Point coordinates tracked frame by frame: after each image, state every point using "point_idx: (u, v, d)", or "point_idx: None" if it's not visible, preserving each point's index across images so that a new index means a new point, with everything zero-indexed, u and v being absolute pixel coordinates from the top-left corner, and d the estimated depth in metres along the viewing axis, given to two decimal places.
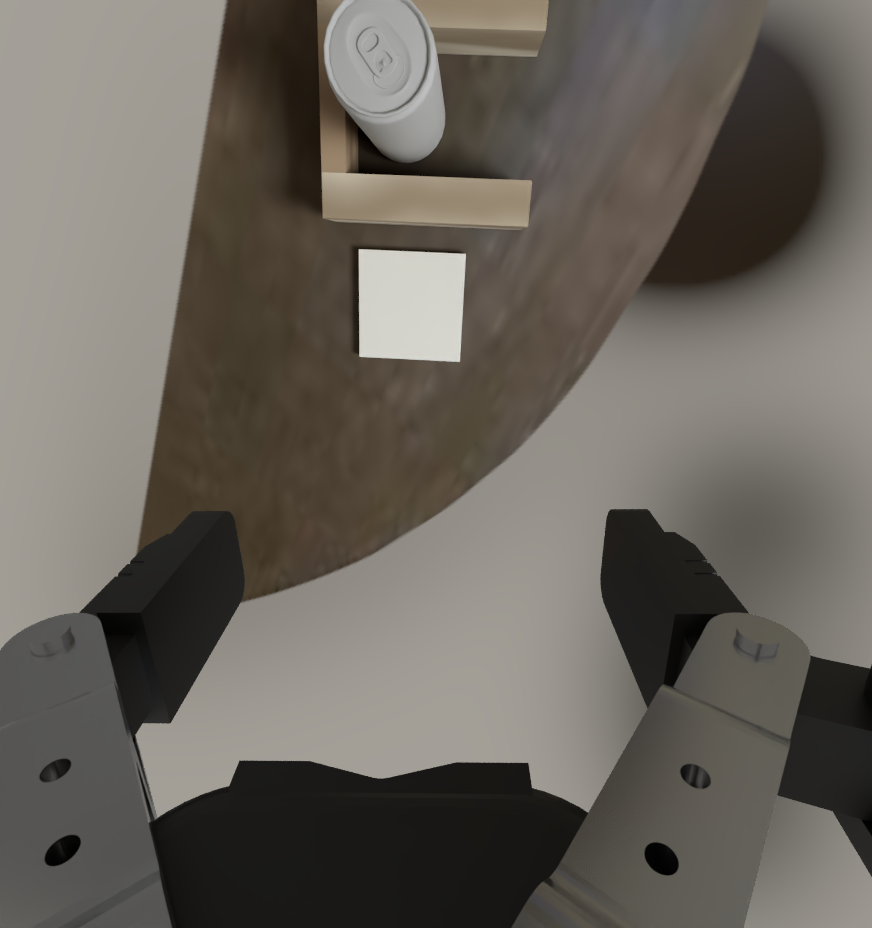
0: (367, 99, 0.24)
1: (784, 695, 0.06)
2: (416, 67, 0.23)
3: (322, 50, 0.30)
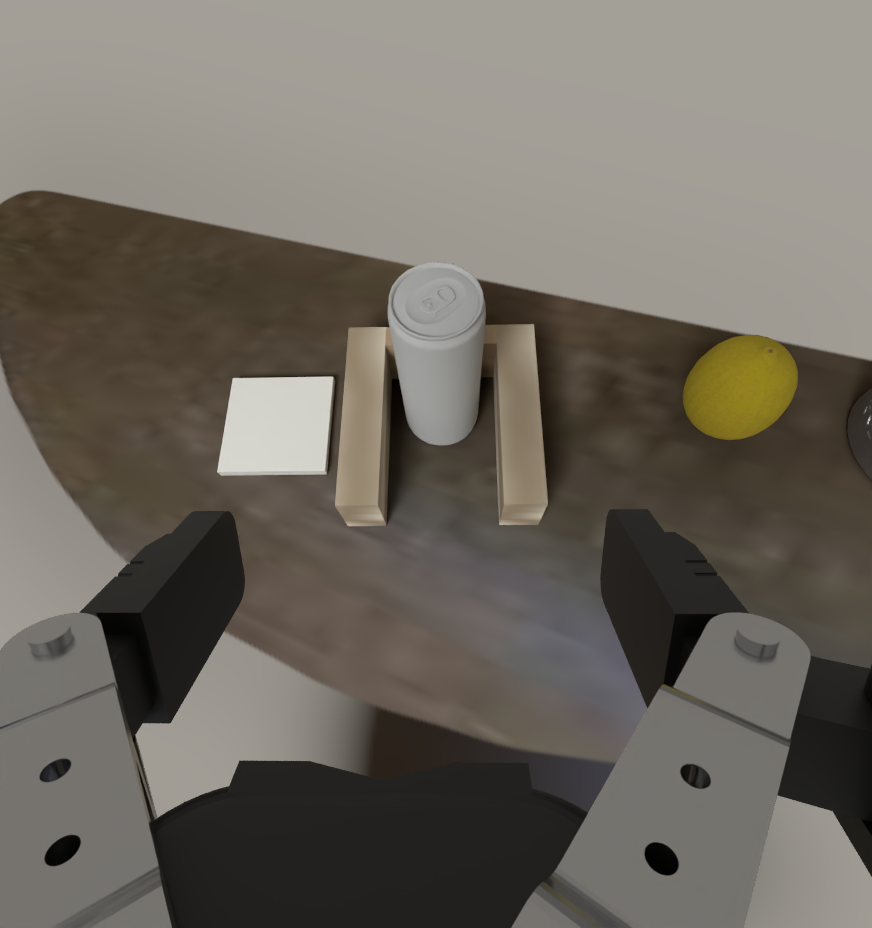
0: (402, 293, 0.27)
1: (784, 695, 0.06)
2: (427, 328, 0.26)
3: None
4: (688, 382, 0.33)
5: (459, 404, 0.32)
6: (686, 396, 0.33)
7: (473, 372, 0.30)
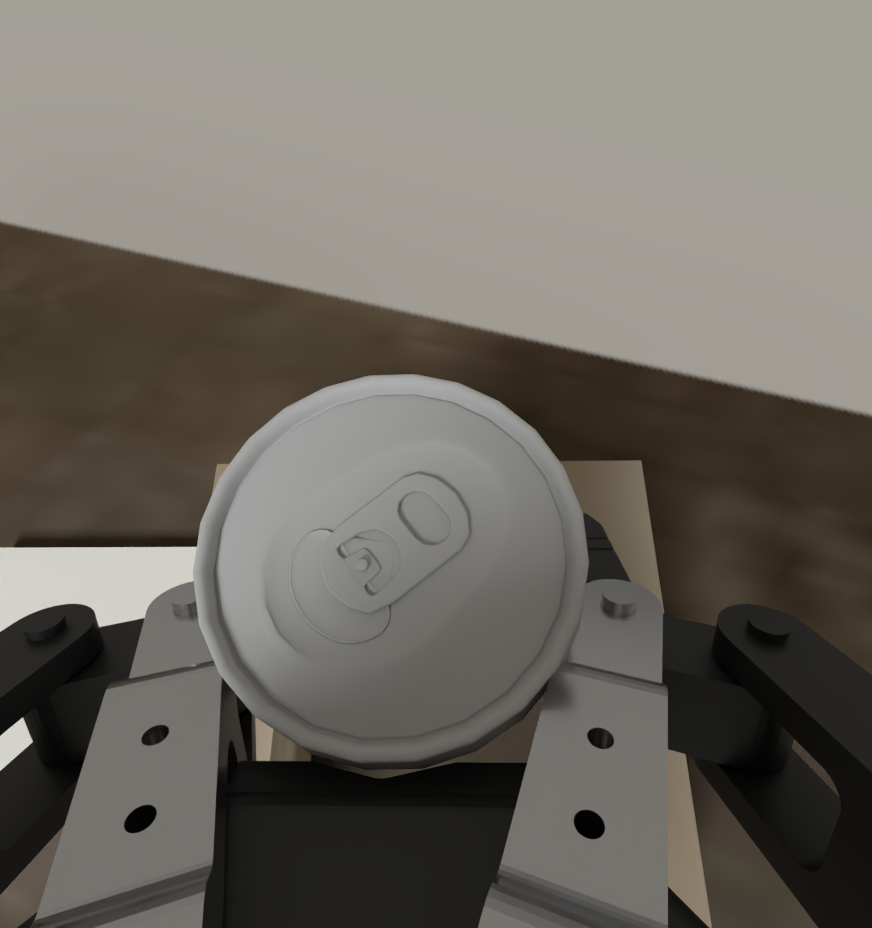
0: (259, 508, 0.07)
1: (626, 645, 0.07)
2: (347, 692, 0.06)
3: None
4: None
5: None
6: None
7: None
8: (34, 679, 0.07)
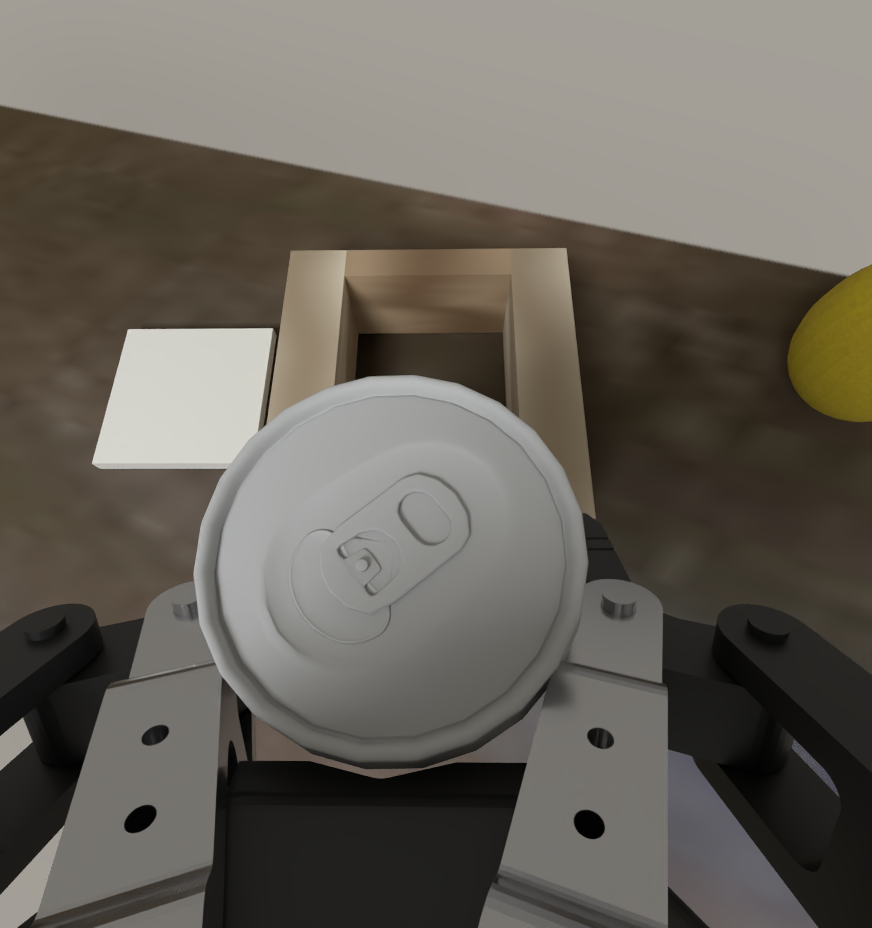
0: (260, 509, 0.07)
1: (627, 645, 0.07)
2: (347, 692, 0.06)
3: (482, 252, 0.24)
4: (804, 333, 0.22)
5: None
6: (800, 354, 0.22)
7: None
8: (34, 680, 0.07)
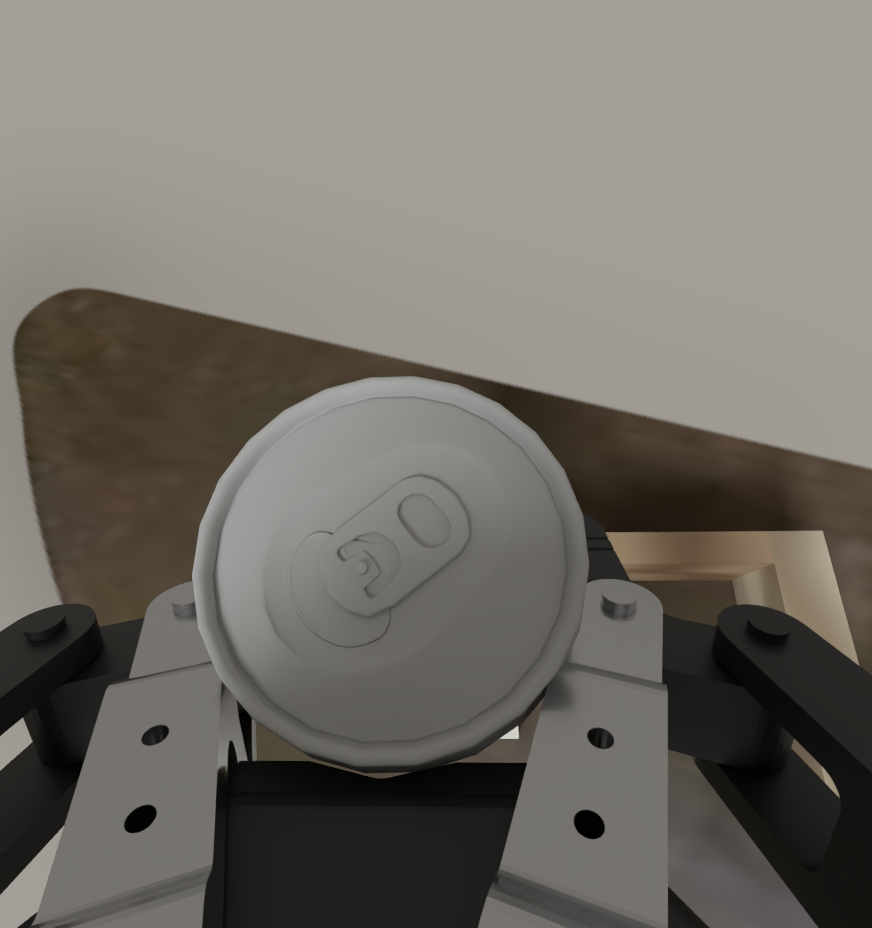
0: (259, 511, 0.07)
1: (627, 645, 0.07)
2: (346, 695, 0.06)
3: (740, 536, 0.24)
4: None
5: None
6: None
7: None
8: (34, 679, 0.07)
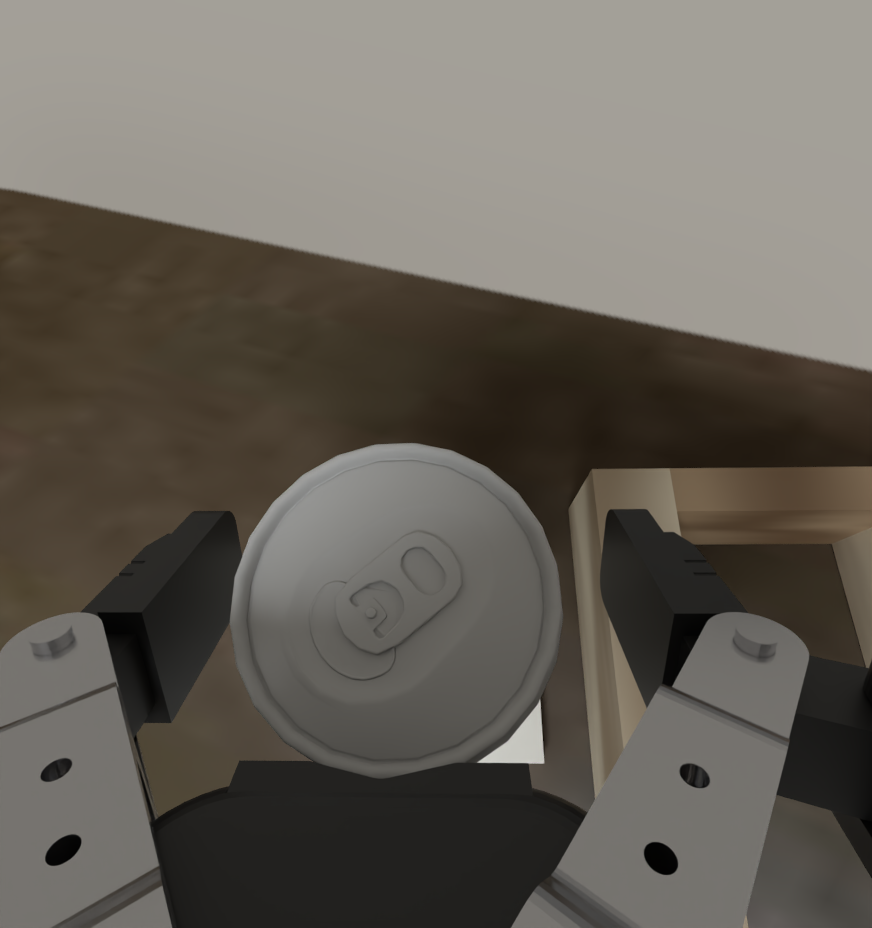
0: (283, 563, 0.08)
1: (783, 694, 0.06)
2: (360, 721, 0.07)
3: (863, 473, 0.17)
4: None
5: None
6: None
7: None
8: None
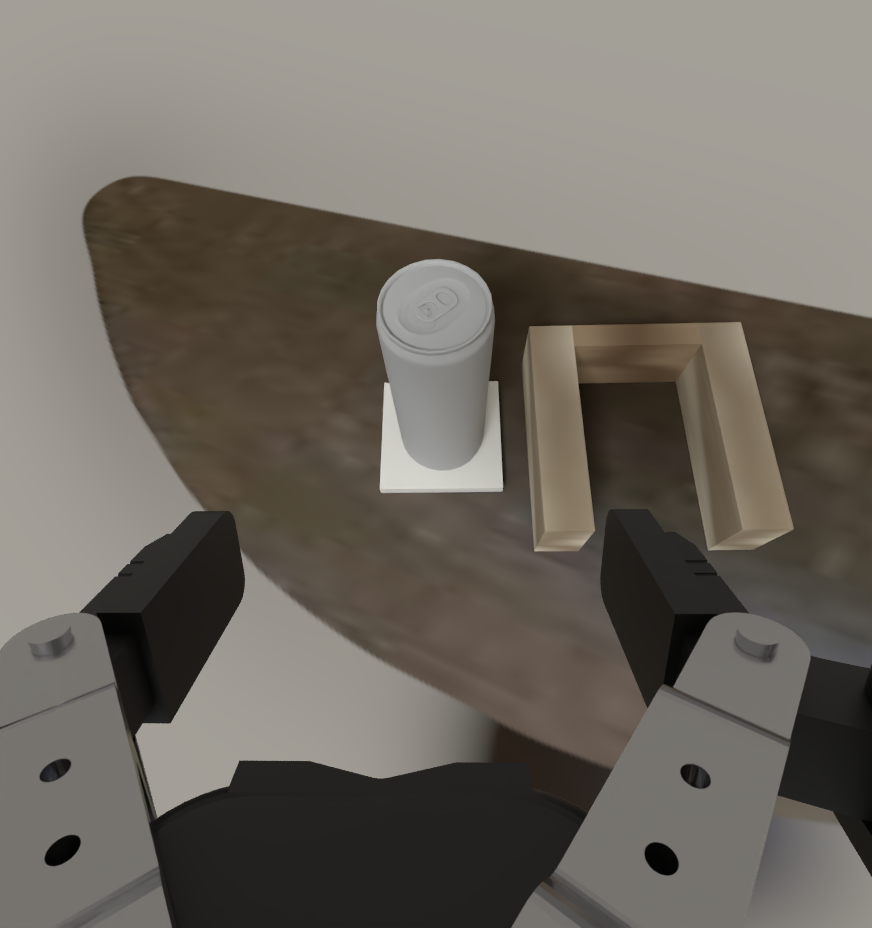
0: (394, 298, 0.22)
1: (784, 695, 0.06)
2: (424, 340, 0.21)
3: (676, 326, 0.31)
4: None
5: (463, 427, 0.27)
6: None
7: (480, 389, 0.25)
8: None
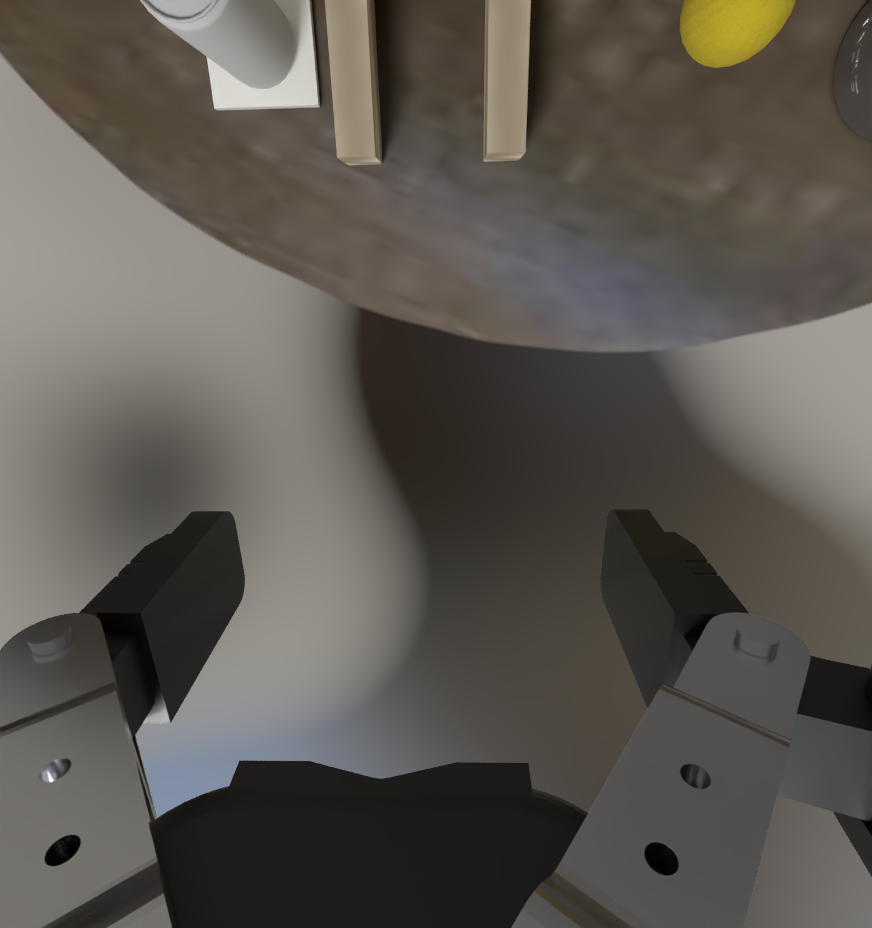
0: None
1: (784, 695, 0.06)
2: (172, 5, 0.25)
3: None
4: None
5: (255, 60, 0.31)
6: (683, 13, 0.32)
7: (251, 30, 0.29)
8: None
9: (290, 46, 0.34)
